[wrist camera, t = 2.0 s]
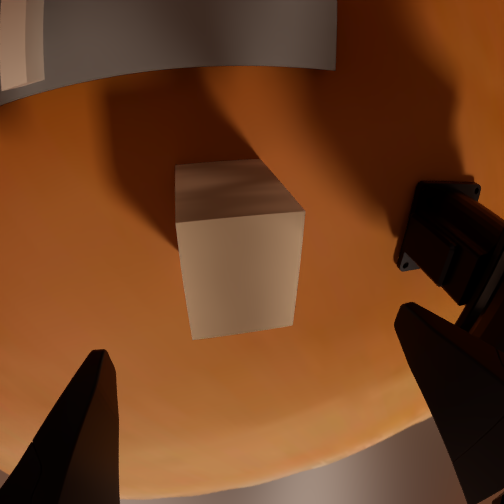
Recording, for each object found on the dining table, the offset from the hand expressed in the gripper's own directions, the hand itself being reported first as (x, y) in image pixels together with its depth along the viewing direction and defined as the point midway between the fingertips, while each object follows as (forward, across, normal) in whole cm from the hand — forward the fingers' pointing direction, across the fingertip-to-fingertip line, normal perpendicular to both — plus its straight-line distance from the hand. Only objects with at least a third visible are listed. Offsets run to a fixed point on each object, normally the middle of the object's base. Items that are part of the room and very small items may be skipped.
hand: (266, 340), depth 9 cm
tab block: (+9, 0, 0) cm, 9 cm away
